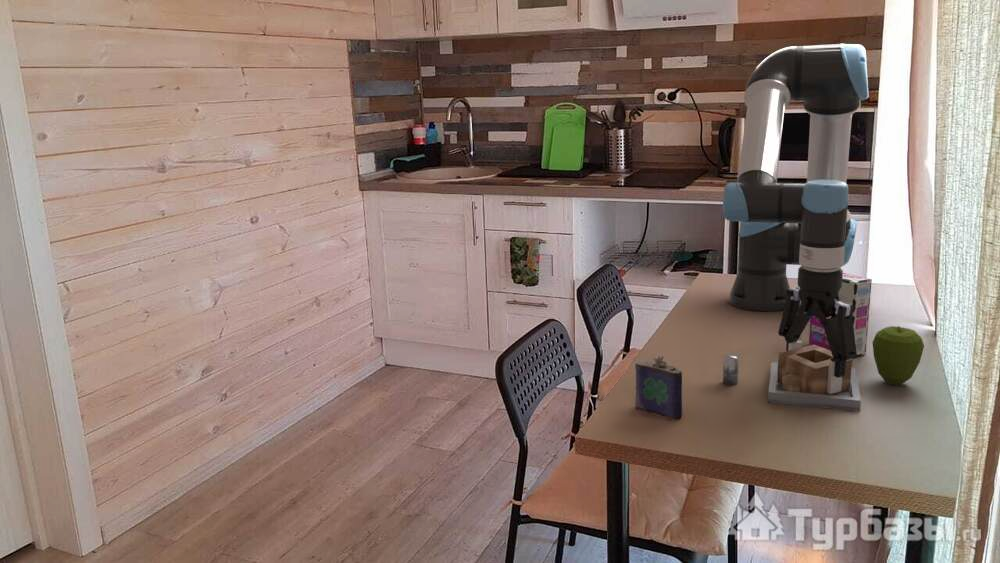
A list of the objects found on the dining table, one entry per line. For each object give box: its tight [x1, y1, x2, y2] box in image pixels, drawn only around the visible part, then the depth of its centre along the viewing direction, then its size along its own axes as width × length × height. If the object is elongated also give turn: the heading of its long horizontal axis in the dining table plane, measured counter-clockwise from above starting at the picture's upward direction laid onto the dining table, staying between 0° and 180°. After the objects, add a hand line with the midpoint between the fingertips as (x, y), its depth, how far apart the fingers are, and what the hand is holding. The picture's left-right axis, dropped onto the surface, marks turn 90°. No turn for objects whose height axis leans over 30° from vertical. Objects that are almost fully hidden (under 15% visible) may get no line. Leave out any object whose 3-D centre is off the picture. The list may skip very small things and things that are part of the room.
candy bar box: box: [808, 272, 873, 358], centre depth 167 cm, size 11×5×16 cm, turn 27°
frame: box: [777, 344, 853, 395], centre depth 148 cm, size 9×11×6 cm
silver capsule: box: [722, 353, 740, 386], centre depth 154 cm, size 3×3×6 cm
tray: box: [767, 361, 862, 412], centre depth 149 cm, size 15×15×2 cm
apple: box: [872, 325, 925, 386], centre depth 149 cm, size 9×8×12 cm
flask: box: [635, 355, 683, 421], centre depth 142 cm, size 9×3×11 cm, turn 48°
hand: (813, 382), depth 149 cm, fingers open, 9 cm apart
